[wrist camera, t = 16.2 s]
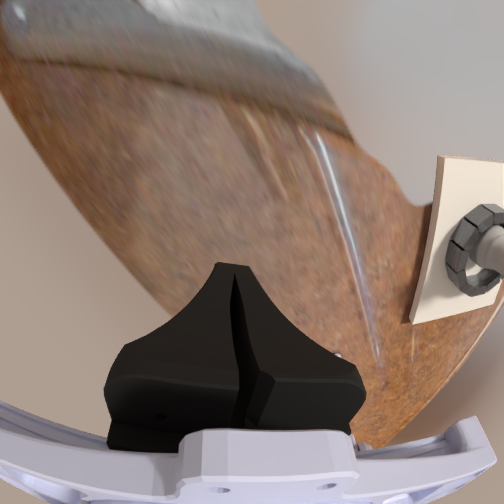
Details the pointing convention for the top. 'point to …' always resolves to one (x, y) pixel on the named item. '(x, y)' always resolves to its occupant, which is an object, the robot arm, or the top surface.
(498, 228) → the rook chess piece
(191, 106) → the top surface
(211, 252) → the top surface
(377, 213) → the top surface
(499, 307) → the top surface
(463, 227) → the segmented grey ring
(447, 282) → the mount plate
